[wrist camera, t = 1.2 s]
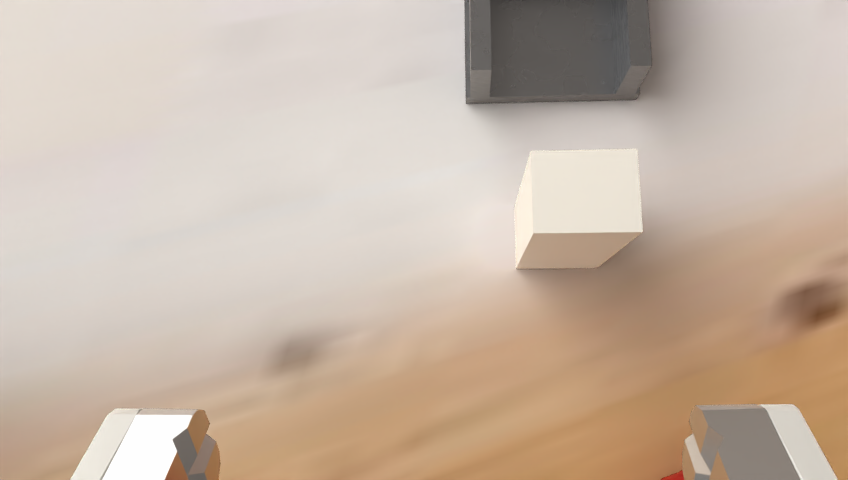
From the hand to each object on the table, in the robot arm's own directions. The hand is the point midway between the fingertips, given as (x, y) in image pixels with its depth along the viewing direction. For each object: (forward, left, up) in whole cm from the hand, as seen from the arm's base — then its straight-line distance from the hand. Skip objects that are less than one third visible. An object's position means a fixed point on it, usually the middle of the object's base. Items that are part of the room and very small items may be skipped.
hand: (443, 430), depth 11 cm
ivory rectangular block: (+6, +9, -30) cm, 32 cm away
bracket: (+6, +24, -30) cm, 39 cm away
